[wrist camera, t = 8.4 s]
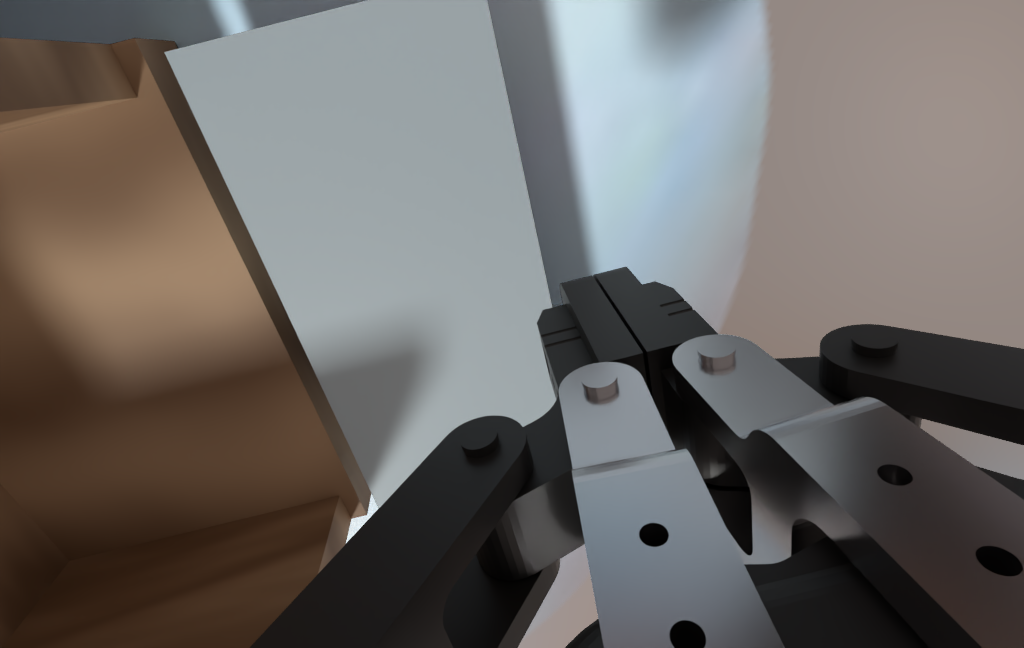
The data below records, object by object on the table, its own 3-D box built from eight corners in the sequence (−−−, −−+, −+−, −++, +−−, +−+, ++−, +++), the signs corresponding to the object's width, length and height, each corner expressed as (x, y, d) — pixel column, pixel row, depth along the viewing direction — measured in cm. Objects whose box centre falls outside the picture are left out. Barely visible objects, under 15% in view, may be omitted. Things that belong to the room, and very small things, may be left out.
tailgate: (163, 51, 12) (480, -29, 12) (196, 53, 14) (477, -19, 14) (381, 513, 19) (585, 463, 19) (386, 479, 20) (575, 433, 20)
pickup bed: (-247, 150, 14) (-1383, 287, 6) (174, 41, 14) (-298, 0, 5) (90, 546, 22) (-167, 885, 13) (374, 477, 21) (315, 772, 12)
